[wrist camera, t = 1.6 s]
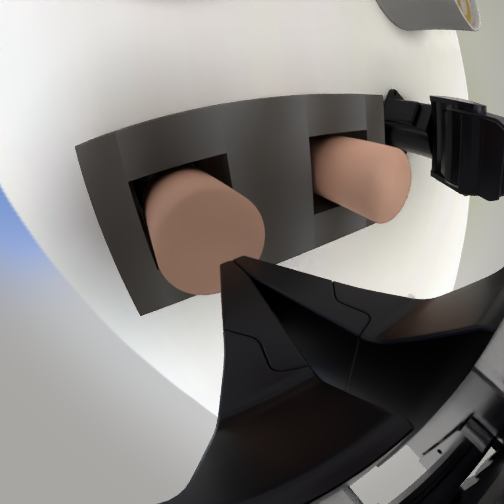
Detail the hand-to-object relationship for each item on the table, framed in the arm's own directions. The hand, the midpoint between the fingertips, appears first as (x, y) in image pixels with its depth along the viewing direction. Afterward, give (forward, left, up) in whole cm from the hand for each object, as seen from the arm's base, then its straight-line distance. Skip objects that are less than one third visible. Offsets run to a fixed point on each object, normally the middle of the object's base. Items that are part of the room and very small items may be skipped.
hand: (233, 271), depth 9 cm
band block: (-4, -3, -13) cm, 14 cm away
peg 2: (-8, -6, -9) cm, 13 cm away
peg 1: (0, 0, -9) cm, 9 cm away
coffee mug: (-14, -34, -13) cm, 39 cm away
